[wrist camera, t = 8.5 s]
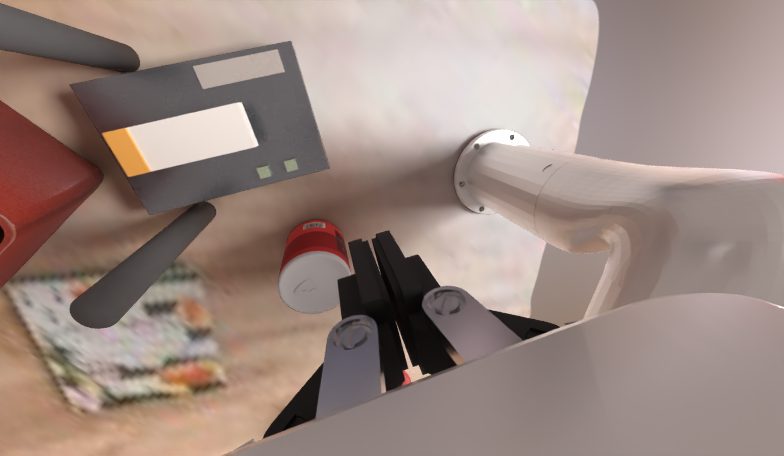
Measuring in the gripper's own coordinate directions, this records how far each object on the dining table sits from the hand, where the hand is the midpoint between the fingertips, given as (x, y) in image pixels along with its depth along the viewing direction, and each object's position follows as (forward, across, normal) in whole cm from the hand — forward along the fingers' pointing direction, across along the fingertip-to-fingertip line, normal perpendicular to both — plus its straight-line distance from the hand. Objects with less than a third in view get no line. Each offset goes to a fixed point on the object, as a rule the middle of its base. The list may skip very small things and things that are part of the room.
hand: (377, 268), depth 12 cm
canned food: (+29, +6, +11) cm, 32 cm away
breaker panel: (+29, +11, -6) cm, 32 cm away
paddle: (+22, +13, -6) cm, 26 cm away
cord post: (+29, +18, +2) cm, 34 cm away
